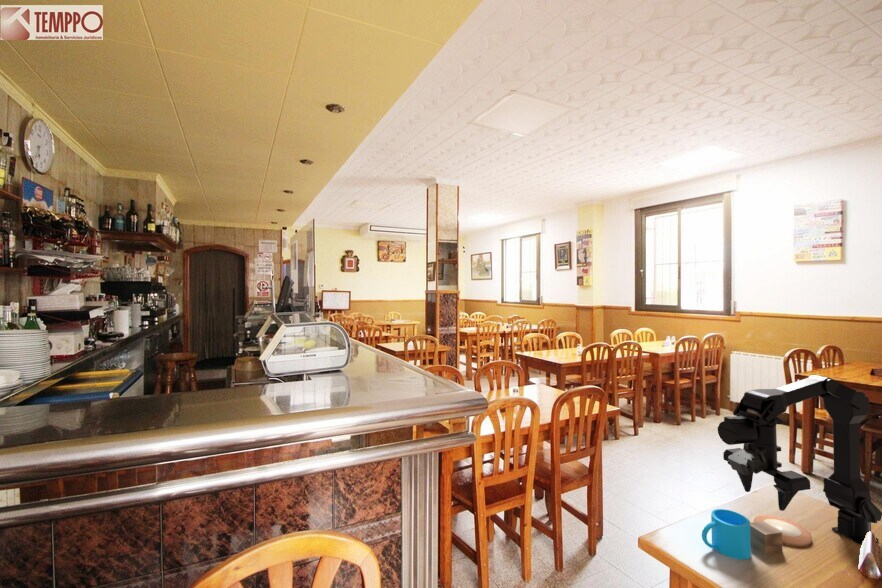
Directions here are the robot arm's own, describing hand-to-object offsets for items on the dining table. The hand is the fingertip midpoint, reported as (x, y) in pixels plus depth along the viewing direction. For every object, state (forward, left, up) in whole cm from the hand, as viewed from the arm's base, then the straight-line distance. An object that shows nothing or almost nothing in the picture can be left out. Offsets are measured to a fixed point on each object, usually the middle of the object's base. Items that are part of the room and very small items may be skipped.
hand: (764, 500), depth 102 cm
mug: (+11, -1, -12) cm, 17 cm away
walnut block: (0, 0, -12) cm, 12 cm away
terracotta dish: (-10, -4, -12) cm, 16 cm away
